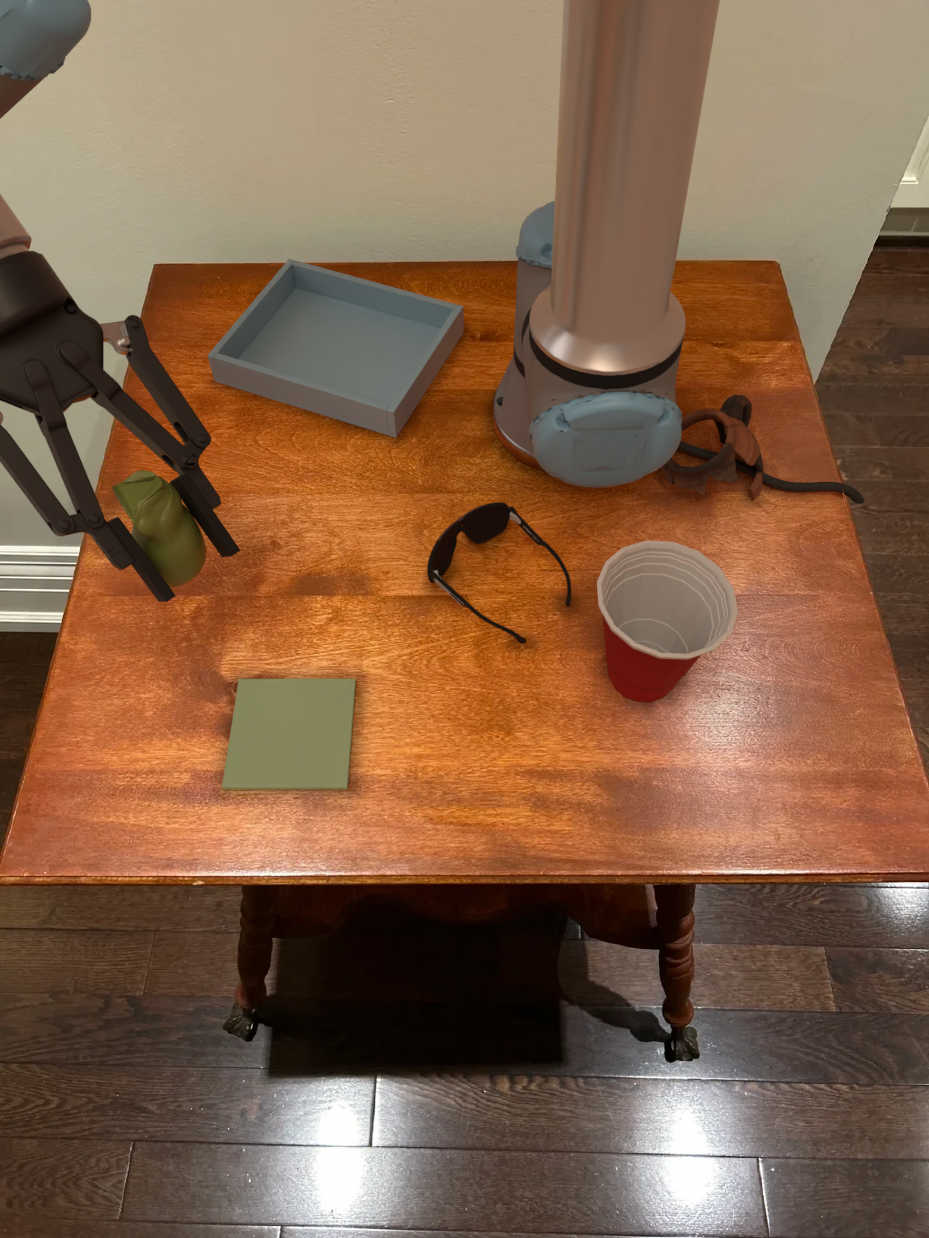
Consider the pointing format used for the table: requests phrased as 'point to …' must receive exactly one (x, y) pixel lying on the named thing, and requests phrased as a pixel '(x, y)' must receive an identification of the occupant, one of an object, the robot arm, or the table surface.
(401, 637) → the table surface
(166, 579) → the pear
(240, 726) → the coaster
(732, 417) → the brown piece
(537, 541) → the sunglasses
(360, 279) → the tray
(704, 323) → the table surface
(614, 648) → the plastic cup
